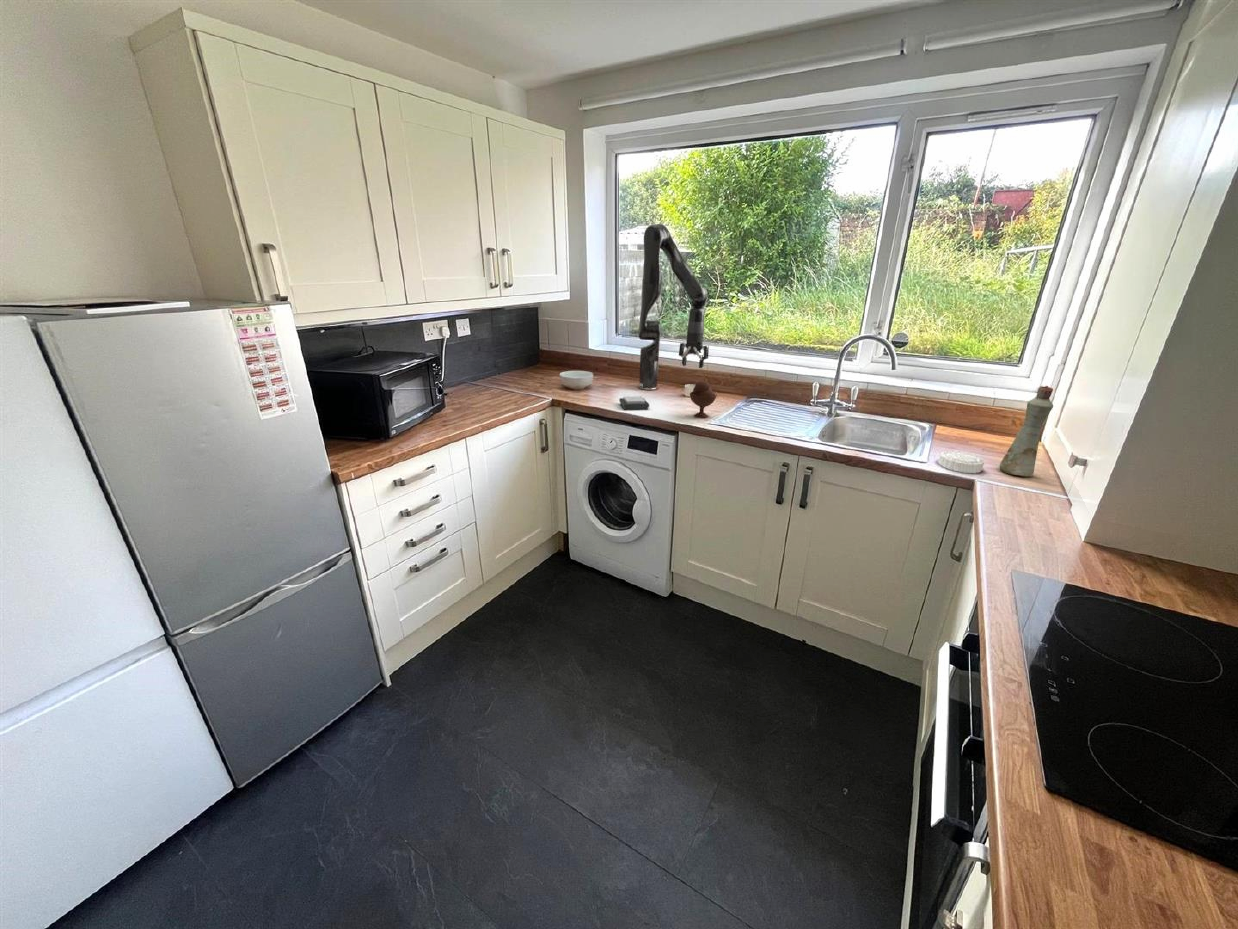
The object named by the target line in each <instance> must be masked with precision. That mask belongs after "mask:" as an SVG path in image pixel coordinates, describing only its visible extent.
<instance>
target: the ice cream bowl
mask: <svg viewBox="0 0 1238 929" xmlns="http://www.w3.org/2000/svg"><path fill="white" fill-rule="evenodd" d="M694 385H695V387H694V389H693V392H691V393H690V397H689V398H690V400H691V401H692V403H693V404H694V405H695V406H697V407H699V412H696V413H695V414H694V417H695V418H699V419H707V418H708V417H709V415H708V414H707V413H706V412H705V408H706V407H709V406H711V405H712V404H713V403H714V402H715V401H716V399H717V396H718V394H717V393H715V392H714V391H713V390H712V388H711V384H709V383H708V382H707V381H706V380H699V381H697V382H696V383H695V384H694Z"/></svg>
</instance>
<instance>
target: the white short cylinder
mask: <svg viewBox="0 0 1238 929" xmlns="http://www.w3.org/2000/svg"><path fill="white" fill-rule="evenodd" d="M694 387H695V384H691V383H688V384H687V383H686V384H684V390H683V395H684V396H685V397H687V398H690V393H691V392H693V389H694Z"/></svg>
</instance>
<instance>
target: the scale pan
mask: <svg viewBox="0 0 1238 929" xmlns="http://www.w3.org/2000/svg"><path fill="white" fill-rule="evenodd" d="M643 398H644V397H642V396H623V400H624V401H625V403H626V404H645V400H646V399H645V398H644V399H645V400H644V399H643Z"/></svg>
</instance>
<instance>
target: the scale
mask: <svg viewBox="0 0 1238 929" xmlns="http://www.w3.org/2000/svg"><path fill="white" fill-rule="evenodd" d="M642 398H643V399H644V400H645V404H626V403H625V401H624V400H623V398H622V397H621V398H620V397H619V403H620V405H621V407H622V408H623V409H624V410H625V411H639V410H640V411H641V410H642V411H643V410H644V411H645V410H648V409H649V408H650V403H649V402H648V401H647V400H646V399H645V398H644V397H642Z"/></svg>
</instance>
